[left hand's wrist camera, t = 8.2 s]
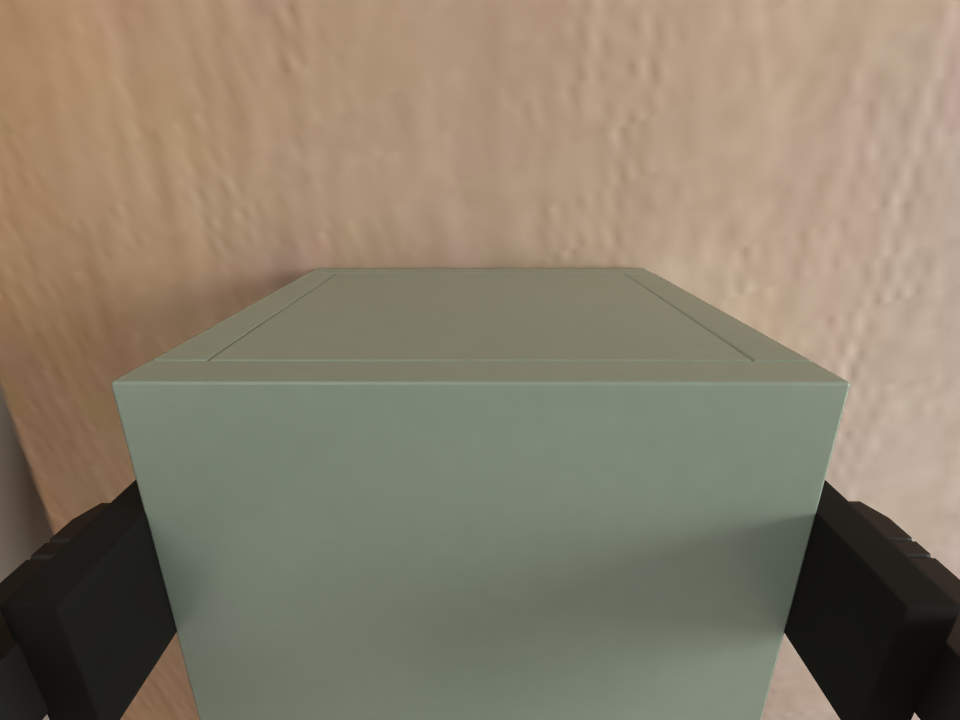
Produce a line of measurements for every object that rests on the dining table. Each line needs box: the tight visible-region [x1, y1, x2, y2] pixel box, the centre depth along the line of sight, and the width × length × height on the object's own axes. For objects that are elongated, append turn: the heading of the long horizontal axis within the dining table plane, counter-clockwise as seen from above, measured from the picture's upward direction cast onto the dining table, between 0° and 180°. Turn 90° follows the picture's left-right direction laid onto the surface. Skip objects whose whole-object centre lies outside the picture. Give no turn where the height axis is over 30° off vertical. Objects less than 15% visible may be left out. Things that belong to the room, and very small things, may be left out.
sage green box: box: [111, 268, 850, 720], centre depth 16 cm, size 17×12×10 cm
